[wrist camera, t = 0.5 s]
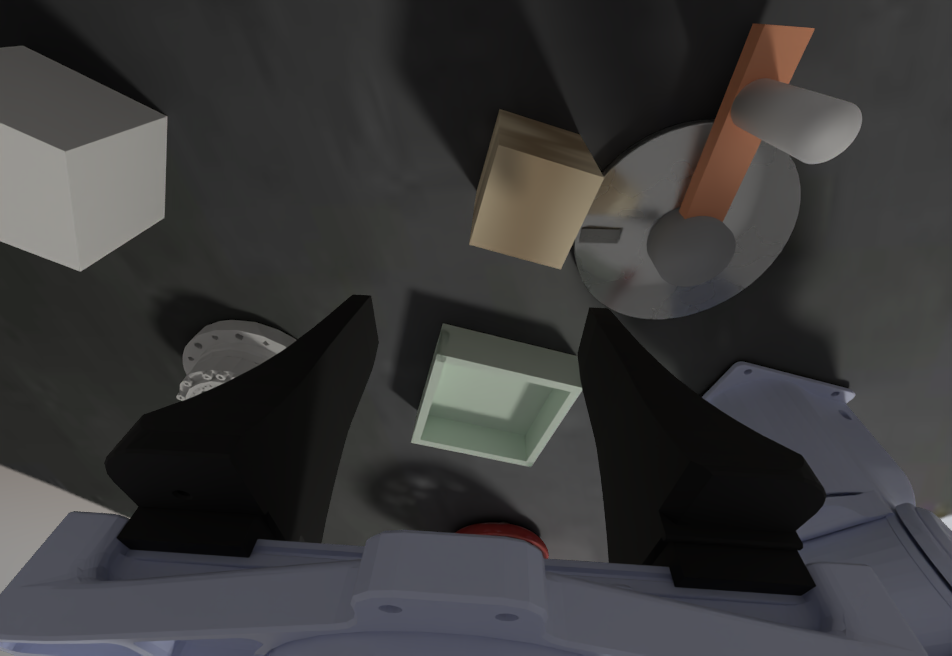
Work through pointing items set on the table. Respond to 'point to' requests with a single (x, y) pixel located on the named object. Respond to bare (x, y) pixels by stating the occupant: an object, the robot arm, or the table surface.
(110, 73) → the table surface
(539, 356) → the tray
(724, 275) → the dial plate
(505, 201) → the brown block
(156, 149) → the light grey cube
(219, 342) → the mechanical component
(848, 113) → the crank
